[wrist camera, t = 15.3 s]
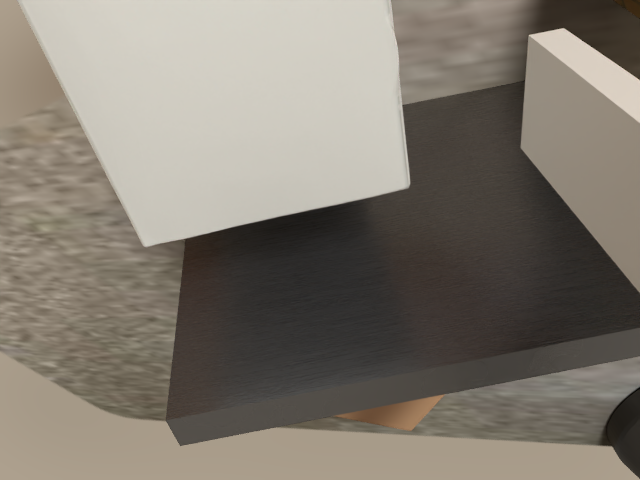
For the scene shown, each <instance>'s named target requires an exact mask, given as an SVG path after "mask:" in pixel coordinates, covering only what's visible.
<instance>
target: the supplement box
mask: <svg viewBox="0 0 640 480" xmlns="http://www.w3.org/2000/svg"><path fill="white" fill-rule="evenodd" d="M17 2H18V4H19V6H20V8H21V10H22V11H23V13H24V15H25V17H26V19H27V21H28V23H29V25H30V27H31V29H32V31H33V33H34V35H35V37H36V39H37V41H38V42H39V44H40V46H41V48H42V50H43V52H44V54H45V56H46V58H47V60H48V62H49V64H50V66H51V68H52V70H53V72H54V74H55V76H56V78H57V80H58V81H59V83H60V85H61V87H62V89H63V91H64V93H65V95H66V97H67V99H68V101H69V103H70V105H71V107H72V109H73V111H74V113H75V115H76V116H77V118H78V120H79V122H80V124H81V126H82V128H83V130H84V132H85V134H86V136H87V138H88V140H89V142H90V144H91V146H92V148H93V150H94V152H95V154H96V156H97V158H98V160H99V162H100V163H101V165H102V167H103V169H104V171H105V173H106V175H107V177H108V179H109V181H110V183H111V185H112V187H113V189H114V191H115V193H116V194H117V196H118V198H119V200H120V202H121V204H122V206H123V208H124V210H125V212H126V214H127V215H128V217H129V219H130V221H131V223H132V225H133V227H134V229H135V231H136V233H137V235H138V237H139V239H140V241H141V243H142V245H143V246H144V247H150V246H153V245H156V244H161V243H166V242H171V241H176V240H181V239H186V238H190V237H194V236H199V235H203V234H208V233H211V232H215V231H220V230H224V229H227V228H231V227H235V226H240V225H244V224H249V223H254V222H258V221H263V220H267V219H271V218H276V217H280V216H285V215H290V214H295V213H300V212H304V211H309V210H313V209H318V208H323V207H328V206H333V205H338V204H343V203H347V202H352V201H356V200H361V199H366V198H370V197H375V196H379V195H383V194H387V193H391V192H395V191H399V190H404V189H407V188H409V186H410V173H409V164H408V155H407V146H406V136H405V127H404V118H403V108H402V99H401V89H400V80H399V56H398V47H397V43H396V38H395V34H394V25H393V15H392V6H391V0H17Z"/></svg>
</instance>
